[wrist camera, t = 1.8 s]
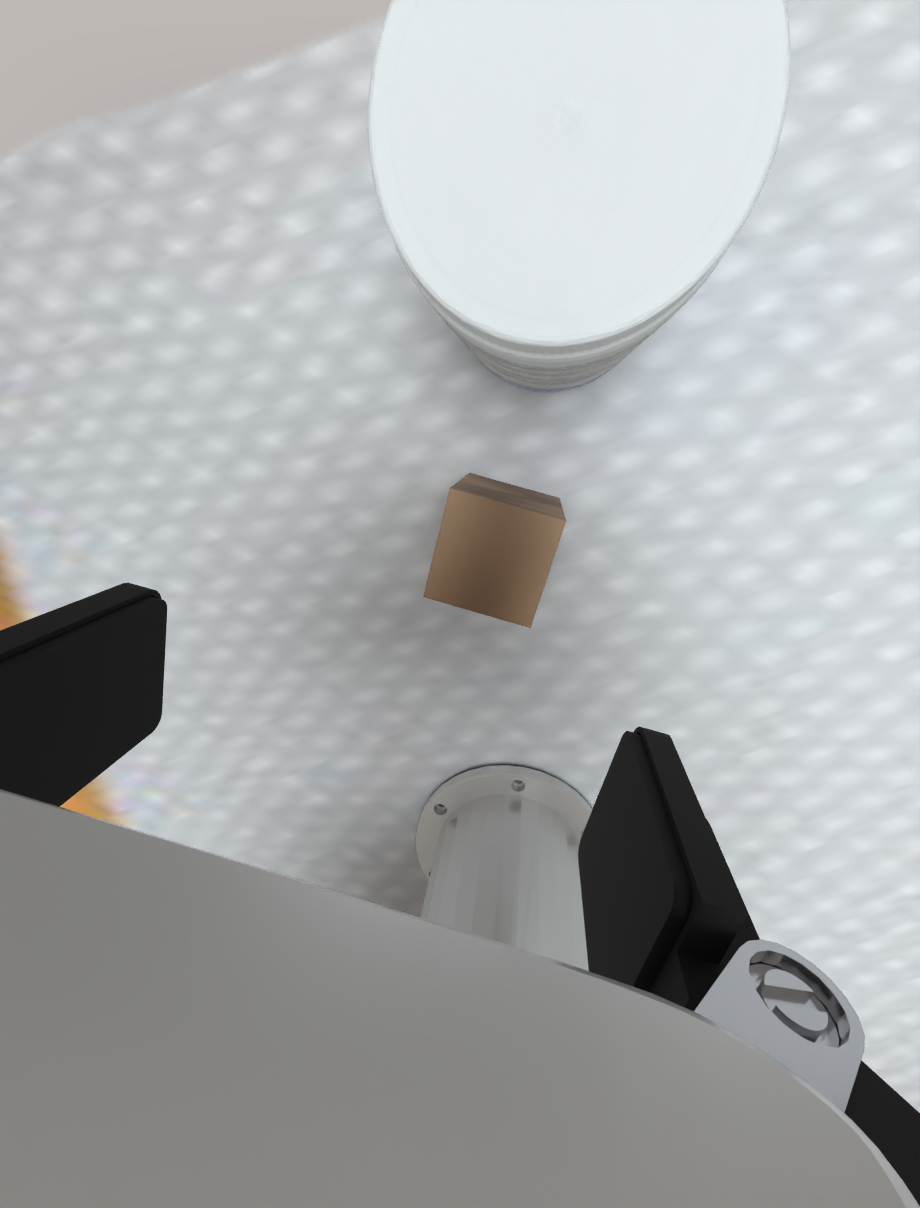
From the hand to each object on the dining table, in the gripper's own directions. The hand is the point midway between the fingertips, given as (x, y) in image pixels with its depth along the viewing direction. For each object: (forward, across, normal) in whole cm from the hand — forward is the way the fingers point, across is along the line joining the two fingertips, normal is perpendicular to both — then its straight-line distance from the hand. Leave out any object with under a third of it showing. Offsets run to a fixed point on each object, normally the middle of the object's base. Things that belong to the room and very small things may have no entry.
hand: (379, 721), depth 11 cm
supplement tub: (+21, 0, -12) cm, 24 cm away
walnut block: (+21, -1, 0) cm, 21 cm away
